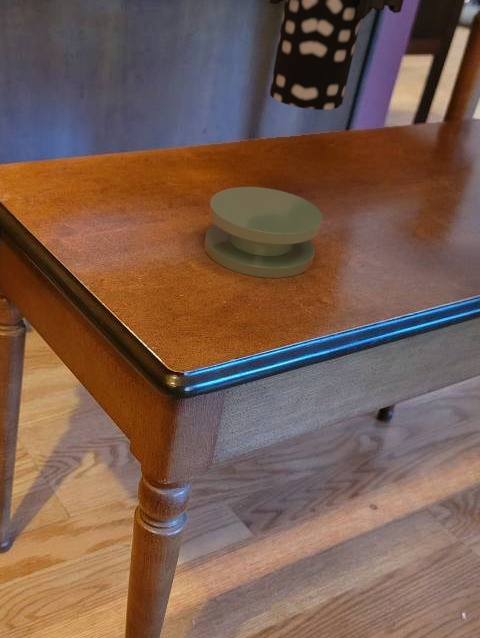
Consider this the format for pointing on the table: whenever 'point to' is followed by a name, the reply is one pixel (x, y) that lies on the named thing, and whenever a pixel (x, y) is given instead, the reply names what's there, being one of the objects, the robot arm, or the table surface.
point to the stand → (262, 232)
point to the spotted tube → (315, 53)
